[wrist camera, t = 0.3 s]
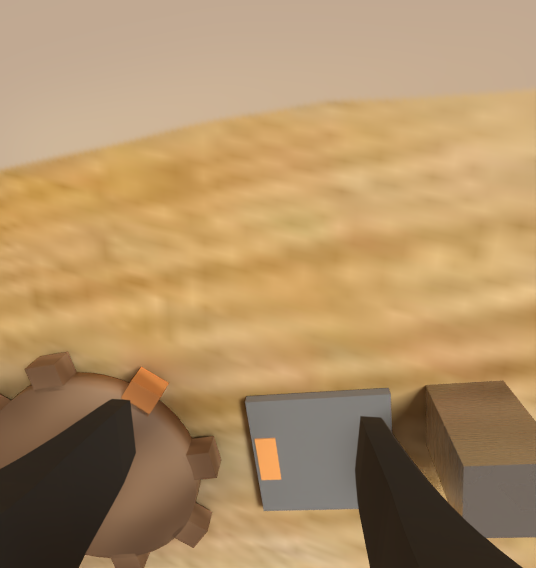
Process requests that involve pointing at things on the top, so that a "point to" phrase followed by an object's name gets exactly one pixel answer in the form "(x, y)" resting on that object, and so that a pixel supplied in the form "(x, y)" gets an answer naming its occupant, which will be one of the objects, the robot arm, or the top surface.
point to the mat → (311, 445)
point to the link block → (484, 455)
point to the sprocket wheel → (146, 464)
